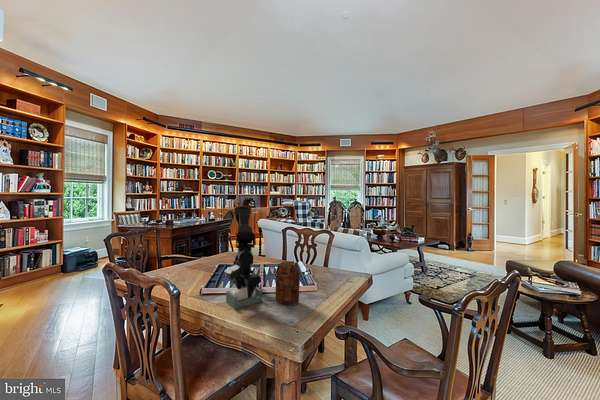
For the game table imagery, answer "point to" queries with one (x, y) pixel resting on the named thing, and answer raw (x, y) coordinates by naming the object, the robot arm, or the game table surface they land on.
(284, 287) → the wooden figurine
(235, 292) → the roll
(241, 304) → the grey-green grooved block
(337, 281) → the game table surface
